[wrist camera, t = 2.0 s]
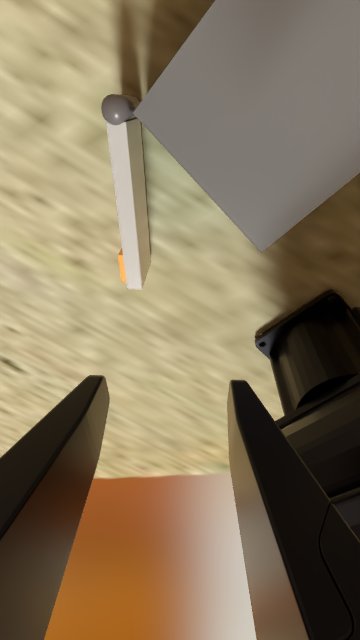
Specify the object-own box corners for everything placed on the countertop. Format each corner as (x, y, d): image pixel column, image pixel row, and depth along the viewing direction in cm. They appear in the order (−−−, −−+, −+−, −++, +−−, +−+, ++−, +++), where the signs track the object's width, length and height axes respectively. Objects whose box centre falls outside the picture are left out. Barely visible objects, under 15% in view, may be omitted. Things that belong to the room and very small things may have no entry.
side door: (130, 262, 20) (117, 290, 17) (110, 95, 15) (87, 94, 12) (152, 262, 20) (144, 291, 17) (140, 95, 15) (125, 93, 12)
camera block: (250, 225, 18) (263, 257, 14) (128, 89, 15) (103, 85, 11) (431, 67, 14) (517, 55, 10) (315, -181, 10) (381, -341, 7)
